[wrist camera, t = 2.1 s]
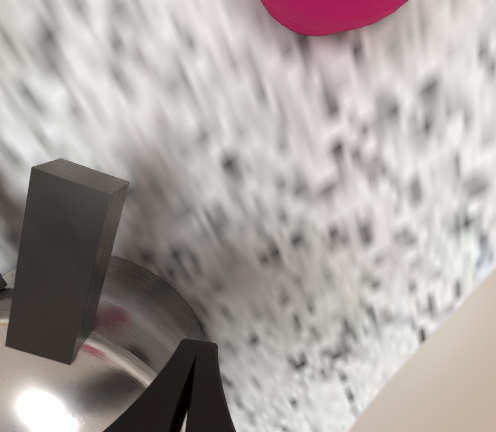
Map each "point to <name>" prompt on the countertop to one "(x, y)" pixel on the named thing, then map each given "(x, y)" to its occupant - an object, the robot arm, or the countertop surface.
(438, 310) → the countertop surface
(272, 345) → the countertop surface
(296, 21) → the pepper mill
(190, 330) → the cooker pot
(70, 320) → the cooker lid
